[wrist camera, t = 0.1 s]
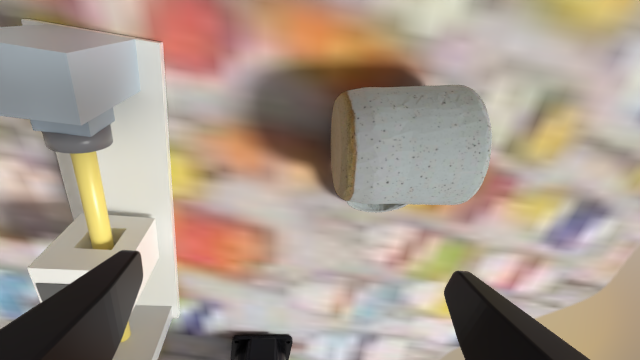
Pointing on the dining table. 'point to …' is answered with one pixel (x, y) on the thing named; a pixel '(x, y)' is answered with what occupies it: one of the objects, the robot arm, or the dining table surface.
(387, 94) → the ceramic mug
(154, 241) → the marker sleeve
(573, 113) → the dining table surface
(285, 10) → the dining table surface
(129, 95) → the cord rig
